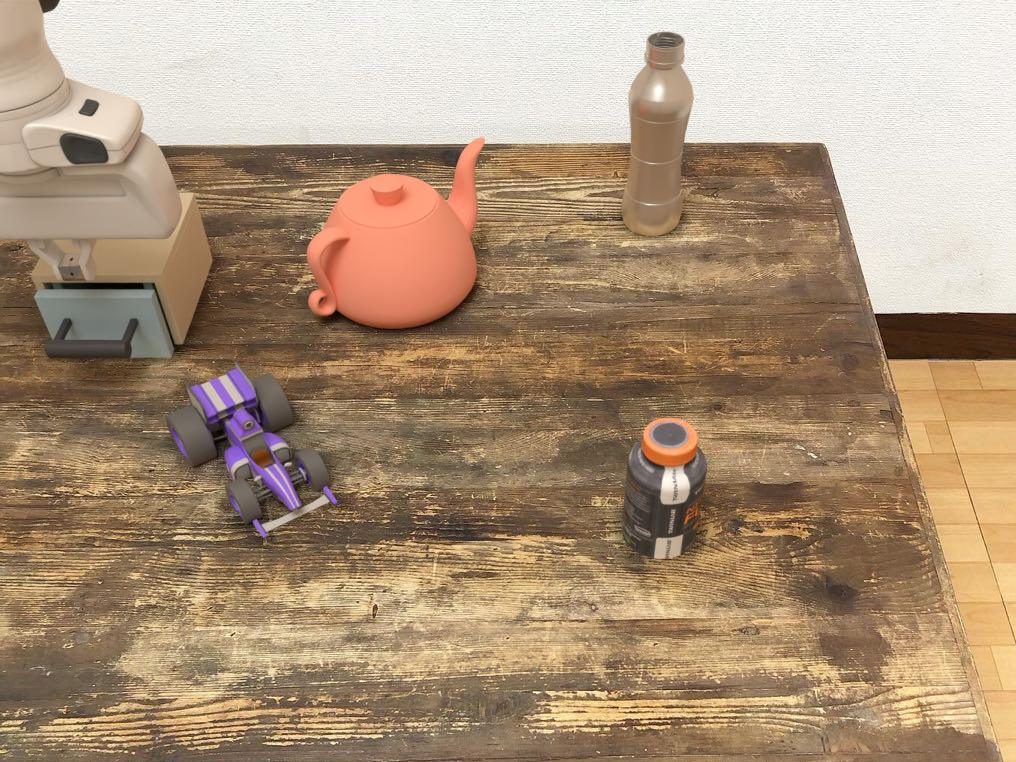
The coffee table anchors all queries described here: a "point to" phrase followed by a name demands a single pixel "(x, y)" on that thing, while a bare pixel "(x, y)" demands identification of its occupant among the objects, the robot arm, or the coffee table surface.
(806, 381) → the coffee table surface
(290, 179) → the coffee table surface
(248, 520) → the toy race car
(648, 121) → the plastic bottle
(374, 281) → the teapot
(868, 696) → the coffee table surface
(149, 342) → the blue drawer
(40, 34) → the robot arm
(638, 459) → the pill bottle
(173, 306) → the drawer cabinet
